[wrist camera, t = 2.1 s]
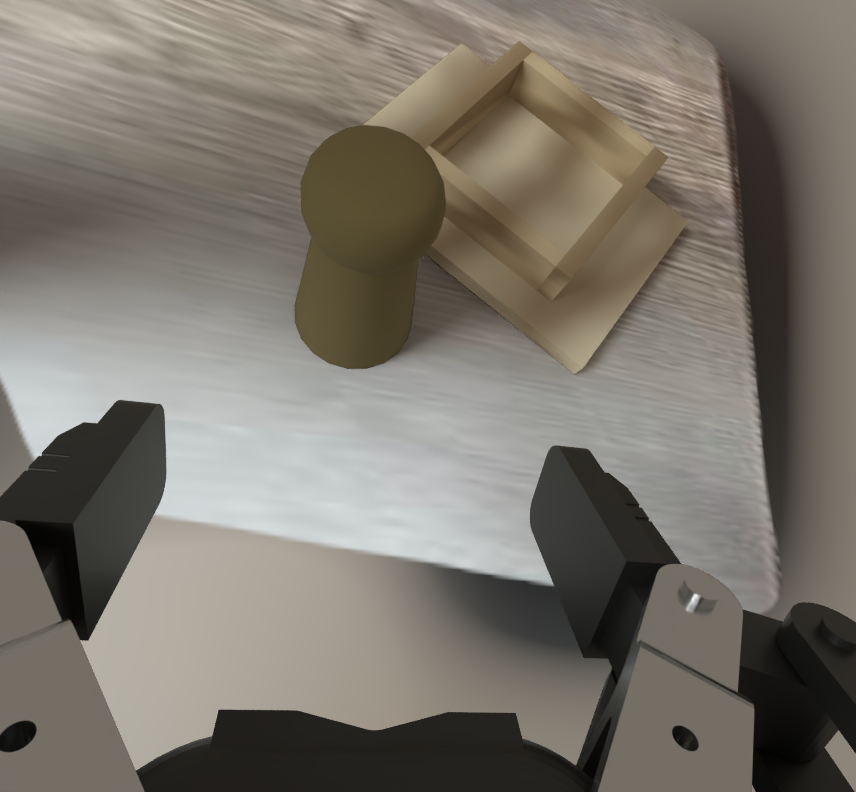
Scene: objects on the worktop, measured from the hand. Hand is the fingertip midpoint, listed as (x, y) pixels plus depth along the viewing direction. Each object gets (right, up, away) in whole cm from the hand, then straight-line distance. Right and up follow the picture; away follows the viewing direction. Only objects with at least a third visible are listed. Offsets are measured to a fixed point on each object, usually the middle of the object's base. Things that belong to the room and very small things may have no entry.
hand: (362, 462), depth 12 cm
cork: (-2, +6, +17) cm, 18 cm away
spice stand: (+6, +13, +21) cm, 26 cm away
